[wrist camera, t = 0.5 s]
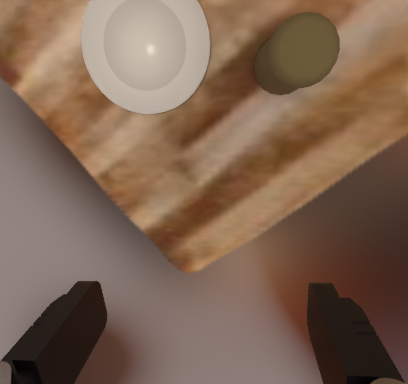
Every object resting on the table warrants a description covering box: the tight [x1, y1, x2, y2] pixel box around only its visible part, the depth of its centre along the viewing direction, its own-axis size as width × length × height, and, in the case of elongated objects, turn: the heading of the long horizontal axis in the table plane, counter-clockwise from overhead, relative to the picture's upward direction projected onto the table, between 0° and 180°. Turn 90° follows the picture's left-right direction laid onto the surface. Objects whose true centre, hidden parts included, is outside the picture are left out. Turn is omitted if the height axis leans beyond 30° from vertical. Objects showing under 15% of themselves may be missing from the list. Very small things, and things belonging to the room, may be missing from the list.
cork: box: [254, 12, 340, 95], centre depth 25 cm, size 6×6×11 cm
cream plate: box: [81, 0, 211, 114], centre depth 31 cm, size 14×14×1 cm
